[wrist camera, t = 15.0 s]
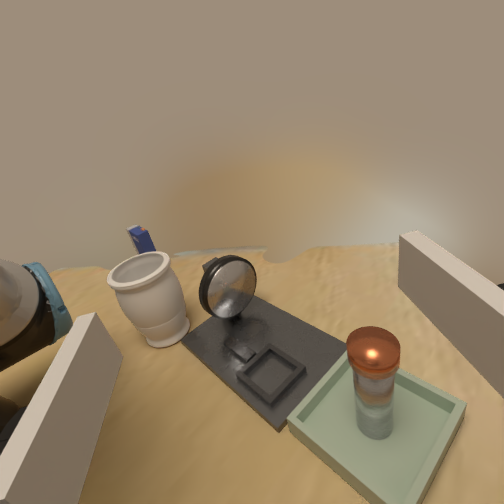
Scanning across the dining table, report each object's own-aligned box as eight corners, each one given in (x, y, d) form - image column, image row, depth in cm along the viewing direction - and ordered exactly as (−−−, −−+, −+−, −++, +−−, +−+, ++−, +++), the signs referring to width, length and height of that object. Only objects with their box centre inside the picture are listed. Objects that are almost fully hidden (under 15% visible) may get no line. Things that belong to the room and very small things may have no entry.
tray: (290, 432, 38) (286, 417, 36) (353, 358, 45) (352, 343, 43) (405, 534, 28) (407, 521, 26) (463, 419, 35) (467, 403, 33)
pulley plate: (181, 343, 55) (154, 283, 48) (247, 294, 63) (231, 237, 56) (278, 432, 38) (256, 359, 31) (351, 350, 46) (345, 278, 39)
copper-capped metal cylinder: (344, 424, 36) (336, 348, 30) (366, 395, 39) (363, 319, 32) (383, 453, 33) (384, 374, 27) (404, 419, 35) (409, 340, 29)
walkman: (164, 269, 80) (147, 229, 74) (155, 275, 78) (136, 234, 72) (152, 261, 85) (135, 222, 79) (143, 266, 84) (124, 227, 78)
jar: (203, 312, 61) (178, 248, 54) (182, 354, 53) (150, 285, 45) (157, 313, 64) (128, 252, 57) (130, 352, 56) (92, 287, 48)
